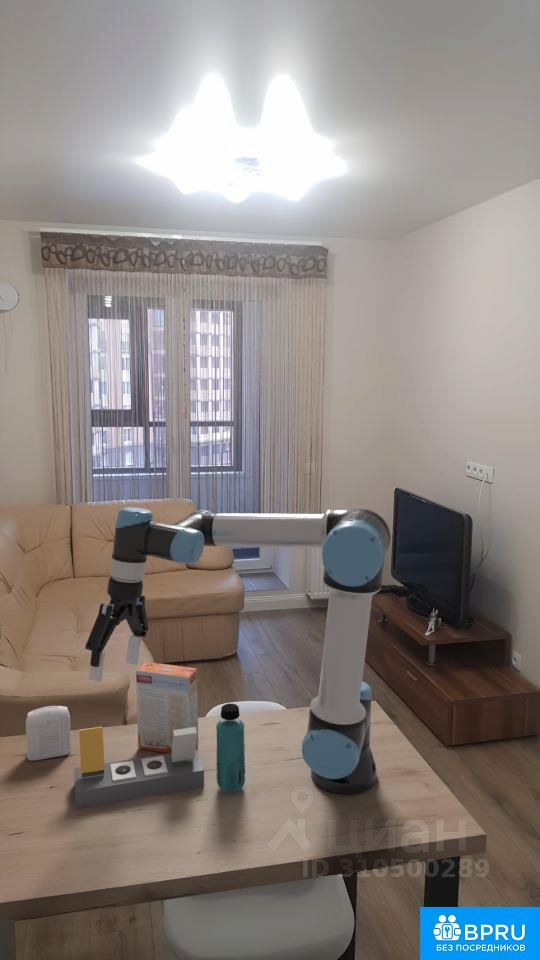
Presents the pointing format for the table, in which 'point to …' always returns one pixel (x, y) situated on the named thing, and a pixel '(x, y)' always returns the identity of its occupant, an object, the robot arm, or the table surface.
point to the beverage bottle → (230, 749)
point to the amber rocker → (91, 751)
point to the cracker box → (165, 704)
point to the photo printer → (48, 732)
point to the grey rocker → (184, 744)
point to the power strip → (137, 779)
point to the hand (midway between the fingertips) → (114, 671)
